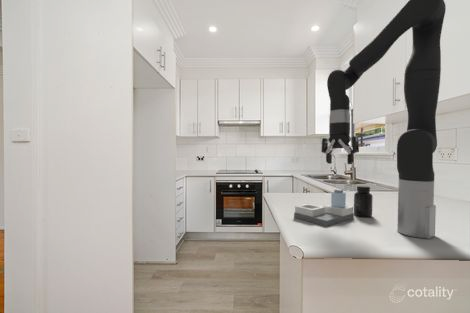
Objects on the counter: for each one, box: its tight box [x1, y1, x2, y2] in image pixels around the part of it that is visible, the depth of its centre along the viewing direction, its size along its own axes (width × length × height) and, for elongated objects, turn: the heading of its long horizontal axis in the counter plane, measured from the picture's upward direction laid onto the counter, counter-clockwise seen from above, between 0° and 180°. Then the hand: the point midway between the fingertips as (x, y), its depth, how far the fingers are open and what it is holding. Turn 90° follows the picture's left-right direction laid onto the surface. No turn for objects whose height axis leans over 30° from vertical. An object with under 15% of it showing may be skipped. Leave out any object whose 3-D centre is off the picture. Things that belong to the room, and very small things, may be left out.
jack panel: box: [293, 203, 355, 227], centre depth 98 cm, size 14×19×4 cm
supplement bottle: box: [353, 185, 374, 218], centre depth 103 cm, size 7×7×12 cm
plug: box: [330, 188, 347, 208], centre depth 98 cm, size 4×4×9 cm
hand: (339, 163), depth 98 cm, fingers open, 8 cm apart
